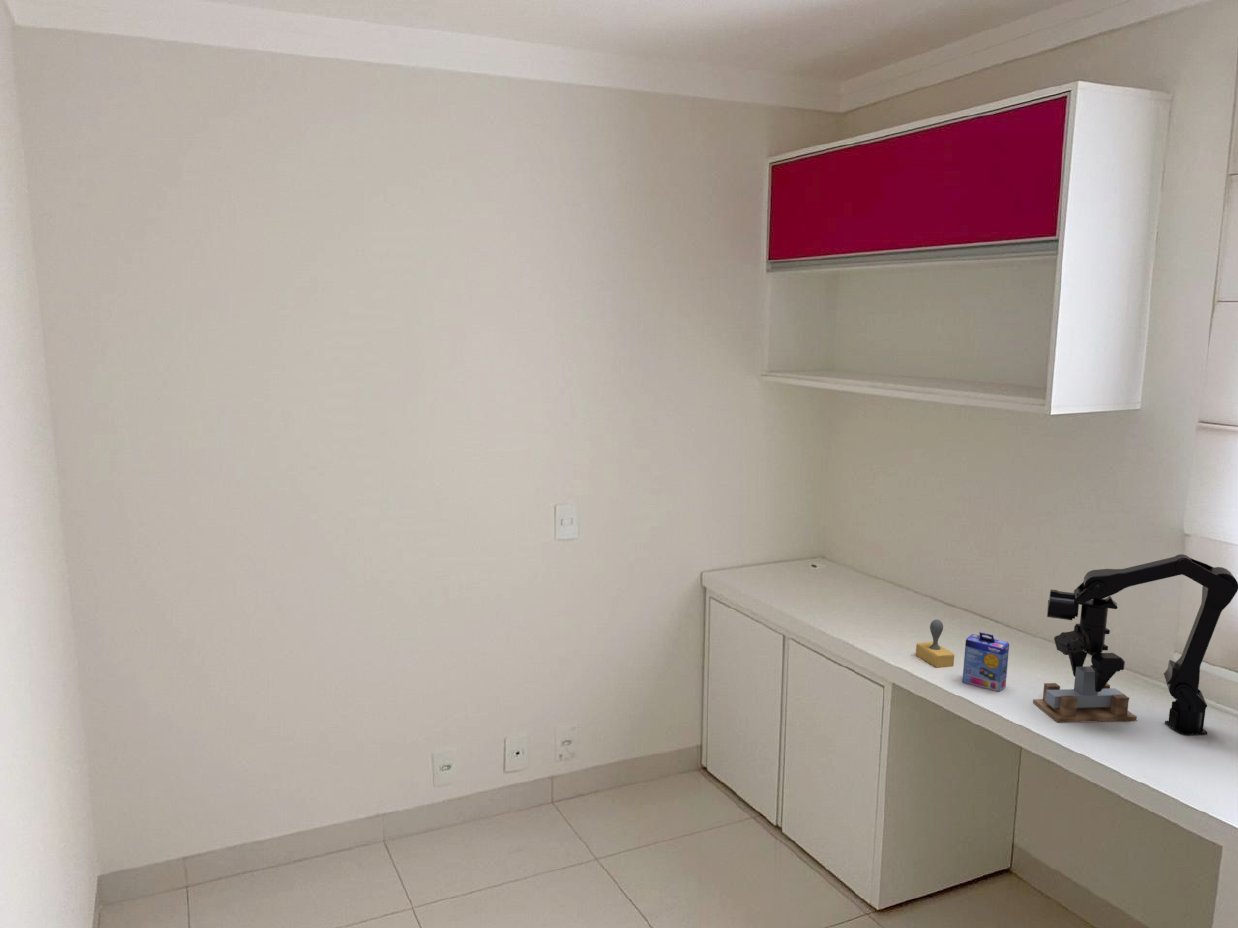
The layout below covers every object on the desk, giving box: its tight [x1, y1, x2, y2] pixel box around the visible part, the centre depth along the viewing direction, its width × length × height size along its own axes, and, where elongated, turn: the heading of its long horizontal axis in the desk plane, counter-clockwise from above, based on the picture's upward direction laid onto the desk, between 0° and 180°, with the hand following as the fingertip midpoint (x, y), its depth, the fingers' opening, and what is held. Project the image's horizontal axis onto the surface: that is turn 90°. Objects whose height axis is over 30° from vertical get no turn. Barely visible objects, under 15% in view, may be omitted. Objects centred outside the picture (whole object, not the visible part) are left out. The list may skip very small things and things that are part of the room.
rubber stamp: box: [915, 619, 955, 669], centre depth 258 cm, size 10×6×12 cm, turn 17°
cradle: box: [1032, 682, 1137, 723], centre depth 227 cm, size 20×11×6 cm, turn 95°
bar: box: [1045, 665, 1127, 708], centre depth 226 cm, size 18×4×9 cm, turn 95°
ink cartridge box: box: [961, 631, 1010, 693], centre depth 242 cm, size 10×6×14 cm, turn 51°
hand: (1086, 683), depth 226 cm, fingers open, 9 cm apart
